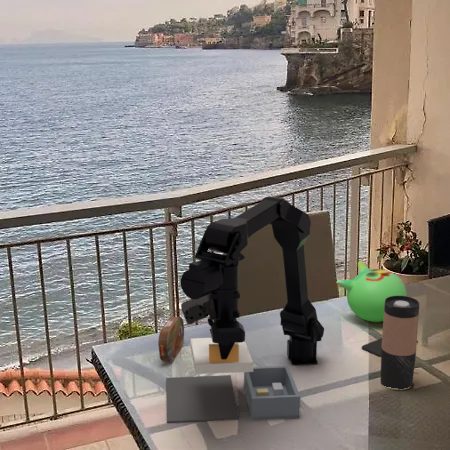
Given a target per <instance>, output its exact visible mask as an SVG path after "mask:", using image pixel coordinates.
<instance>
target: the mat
mask: <svg viewBox="0 0 450 450" xmlns="http://www.w3.org/2000/svg"><path fill="white" fill-rule="evenodd" d="M165 388H166V392H165V393H166V401H165V402H166V404H165V405H166V424H175V423H176V424H178V423H179V424H180V423H197V422H199V423H200V422H214V421H215V422H216V421H218V422H220V421H222V422H224V421H240V413H239V410H238V405H237V399H236V394H235V390H234V386H233V380H232V375H230V374H228V375H223V374H222V375H221V374H220V375H206V376H205V375H203V376H202V375H201V376H199V375H198V376H179V377H178V376H175V377H166V378H165Z"/></svg>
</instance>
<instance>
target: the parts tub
mask: <svg viewBox="0 0 450 450" xmlns="http://www.w3.org/2000/svg"><path fill="white" fill-rule="evenodd" d="M243 389H244V390H243V391H244V393H245V397H246V402H247V406H248V411H249V415H250V418H251V421H266V420H269V421H270V420H288V419H289V420H290V419H291V420H293V419H300V415H301V414H300V413H301V410H300V409H301V408H300V407H301V395H300V392H299V390H298V387H297V385H296V382H295V379H294V377H293V375H292V372H291V368H290V367H289V365H277V366H276V365H273V366H253V372H243Z"/></svg>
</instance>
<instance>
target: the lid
mask: <svg viewBox="0 0 450 450" xmlns="http://www.w3.org/2000/svg"><path fill="white" fill-rule="evenodd" d="M190 351H191V357H192V363H193V368H194V373H195V375H204V374H205V375H208V374H229V373H230V374H231V373H235V374H236V373H244V372H253V367H254V361H253V358H252V356H251V353H250V351H249V347H248V346H247V343H246V340H245V341H244V342H240V343H235V344H234V346H233V347H232V349H231V351H230V353H229V355H228V357H227V359H223V360H222V359H221V355H220V350H219V344H218V343H213V342H212V337H197V338H190Z"/></svg>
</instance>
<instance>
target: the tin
mask: <svg viewBox="0 0 450 450" xmlns="http://www.w3.org/2000/svg"><path fill="white" fill-rule="evenodd" d="M184 325H185V324H184V320H183V317H181V316H171V317H169V318H168V320H167V321H166V322H165V323H164V325H163V326H162V328H161V330H160V331H159V335H158V341H157V343H158V344H157V345H158V352H159V353H158V354H159V359H160V361H162V362H168V363H169V362H171V363H173V362H174V361H175V359H176V358H177V355H178V354H179V353H180V351H181V350H182V347H183V344H184V341H185V340H184V339H185V337H184V336H185V326H184Z"/></svg>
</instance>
